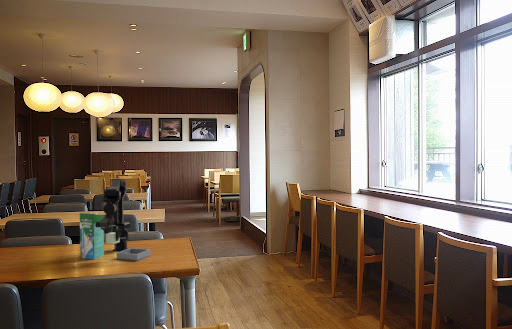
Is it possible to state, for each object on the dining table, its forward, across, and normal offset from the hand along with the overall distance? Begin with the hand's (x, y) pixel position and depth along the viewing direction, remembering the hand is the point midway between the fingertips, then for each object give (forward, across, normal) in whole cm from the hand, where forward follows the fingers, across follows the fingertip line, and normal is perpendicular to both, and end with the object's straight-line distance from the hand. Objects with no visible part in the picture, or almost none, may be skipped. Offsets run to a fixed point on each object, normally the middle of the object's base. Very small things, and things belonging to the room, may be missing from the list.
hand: (112, 240), depth 250 cm
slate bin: (+11, +6, +9) cm, 16 cm away
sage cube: (+1, 0, 0) cm, 1 cm away
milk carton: (+11, -16, +2) cm, 19 cm away
